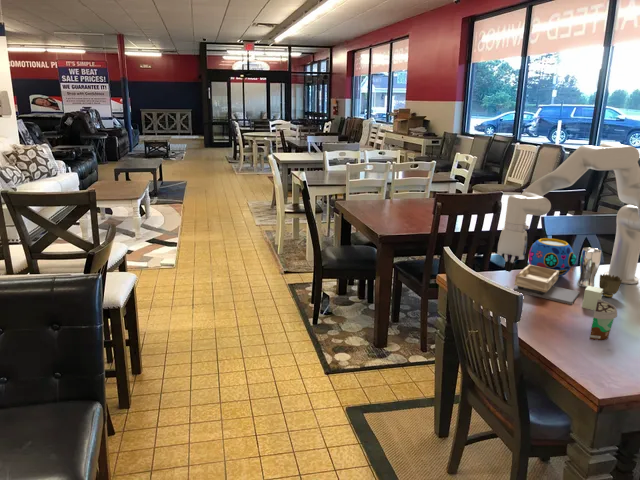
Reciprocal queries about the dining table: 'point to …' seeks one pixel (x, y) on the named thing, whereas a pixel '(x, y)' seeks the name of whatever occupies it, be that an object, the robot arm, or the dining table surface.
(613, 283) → the cup
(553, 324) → the dining table surface
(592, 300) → the cream rectangular block
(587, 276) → the beer glass
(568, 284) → the dining table surface
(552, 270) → the slatted wooden crate
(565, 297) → the dark gray flat slab
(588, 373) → the dining table surface
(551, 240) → the ceramic pot
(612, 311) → the food container
